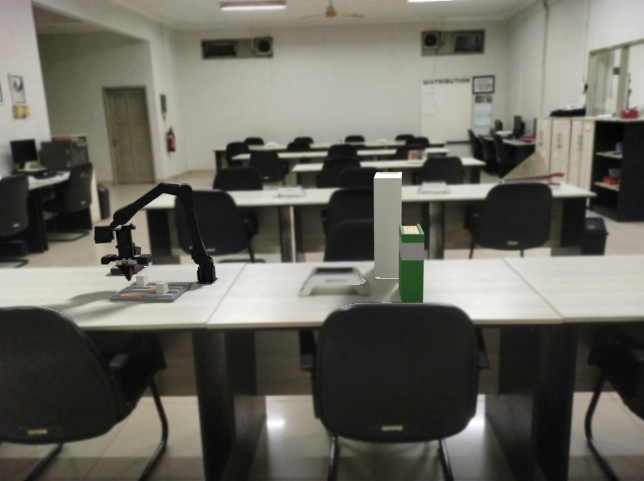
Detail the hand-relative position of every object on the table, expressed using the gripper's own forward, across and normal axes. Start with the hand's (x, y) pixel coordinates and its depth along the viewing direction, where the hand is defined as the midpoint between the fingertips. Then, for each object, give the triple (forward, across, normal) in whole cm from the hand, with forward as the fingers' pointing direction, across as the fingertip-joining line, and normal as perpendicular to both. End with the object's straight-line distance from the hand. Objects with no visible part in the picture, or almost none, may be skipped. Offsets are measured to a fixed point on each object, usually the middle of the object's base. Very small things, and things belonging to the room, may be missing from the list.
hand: (129, 280), depth 204 cm
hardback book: (+4, -107, +1) cm, 107 cm away
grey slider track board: (+3, -11, +4) cm, 12 cm away
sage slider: (+2, -17, +9) cm, 20 cm away
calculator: (+4, +13, -26) cm, 29 cm away
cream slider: (+2, -5, 0) cm, 5 cm away
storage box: (+4, -99, -27) cm, 103 cm away
